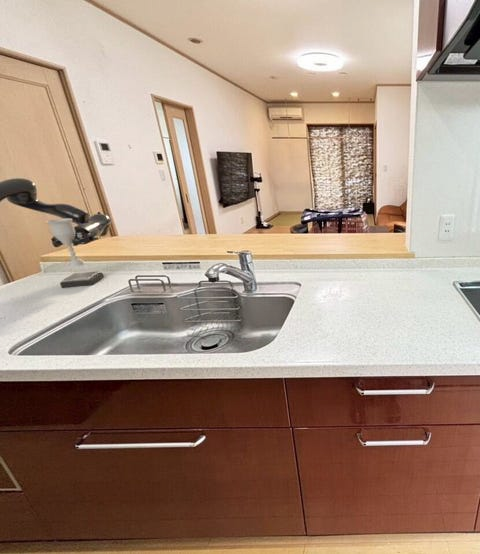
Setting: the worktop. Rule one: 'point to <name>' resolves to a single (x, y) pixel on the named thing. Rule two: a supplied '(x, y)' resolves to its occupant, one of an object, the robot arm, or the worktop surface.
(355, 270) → the worktop surface
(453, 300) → the worktop surface
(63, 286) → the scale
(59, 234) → the chalice
